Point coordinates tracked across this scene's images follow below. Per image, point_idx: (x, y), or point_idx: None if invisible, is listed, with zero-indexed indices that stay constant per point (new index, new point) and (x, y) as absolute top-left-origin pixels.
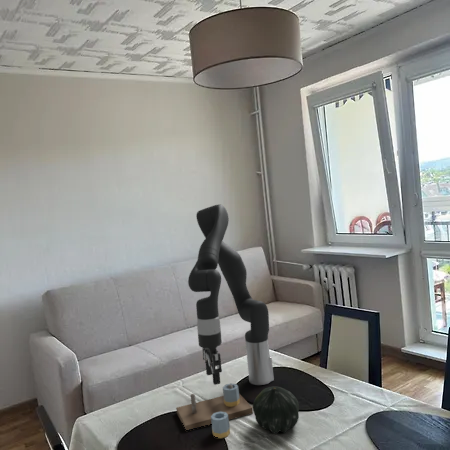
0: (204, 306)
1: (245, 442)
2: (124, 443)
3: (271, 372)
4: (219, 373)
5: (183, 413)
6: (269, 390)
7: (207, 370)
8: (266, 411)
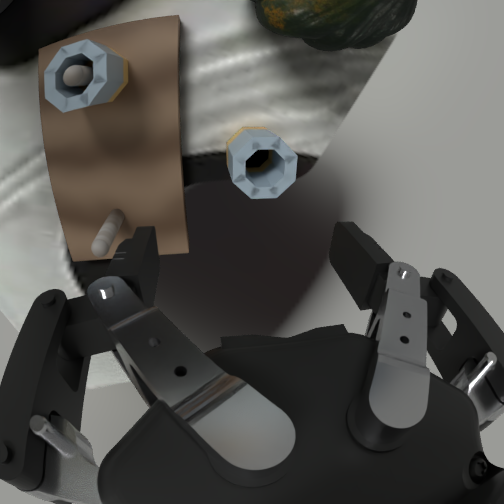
0: None
1: (334, 108)
2: None
3: None
4: (386, 258)
5: (112, 247)
6: None
7: (155, 284)
8: (390, 34)
